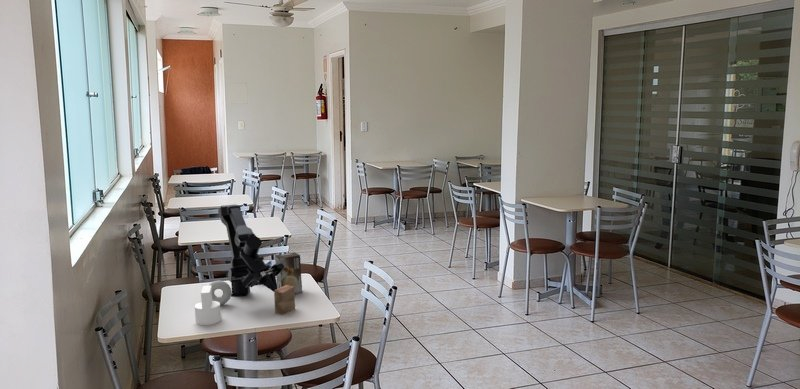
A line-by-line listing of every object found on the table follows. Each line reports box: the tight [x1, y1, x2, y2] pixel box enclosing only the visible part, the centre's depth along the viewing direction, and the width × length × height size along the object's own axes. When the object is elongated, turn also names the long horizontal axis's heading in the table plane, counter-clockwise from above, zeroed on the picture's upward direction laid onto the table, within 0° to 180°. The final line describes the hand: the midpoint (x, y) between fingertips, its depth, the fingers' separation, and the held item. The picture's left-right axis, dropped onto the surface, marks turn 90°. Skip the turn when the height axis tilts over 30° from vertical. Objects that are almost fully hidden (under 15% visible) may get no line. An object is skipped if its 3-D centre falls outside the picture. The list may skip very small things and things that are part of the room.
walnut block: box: [273, 285, 296, 315], centre depth 236 cm, size 4×7×9 cm, turn 151°
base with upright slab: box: [194, 284, 222, 326], centre depth 227 cm, size 9×9×12 cm
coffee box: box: [274, 251, 303, 294], centre depth 259 cm, size 9×6×16 cm
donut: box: [207, 280, 232, 306], centre depth 244 cm, size 10×4×10 cm, turn 101°
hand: (276, 291), depth 236 cm, fingers closed
